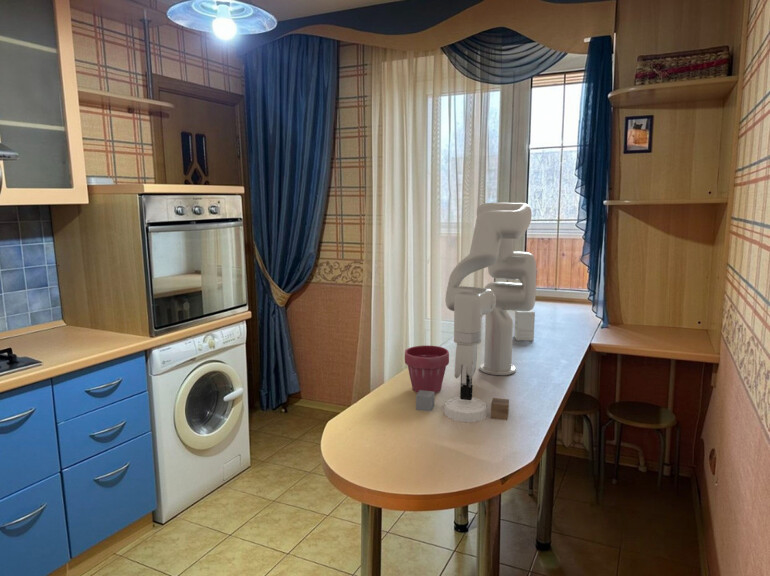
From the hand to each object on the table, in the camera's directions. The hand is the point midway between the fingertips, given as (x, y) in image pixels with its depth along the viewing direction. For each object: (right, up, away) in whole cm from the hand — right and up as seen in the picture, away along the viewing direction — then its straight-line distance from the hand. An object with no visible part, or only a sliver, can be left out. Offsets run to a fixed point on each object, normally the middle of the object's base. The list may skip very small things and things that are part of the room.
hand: (466, 398), depth 155 cm
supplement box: (+37, +9, +80) cm, 89 cm away
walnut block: (+9, -5, -1) cm, 11 cm away
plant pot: (-10, -1, +20) cm, 22 cm away
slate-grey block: (-11, -4, +5) cm, 13 cm away
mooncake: (0, -5, 0) cm, 5 cm away
